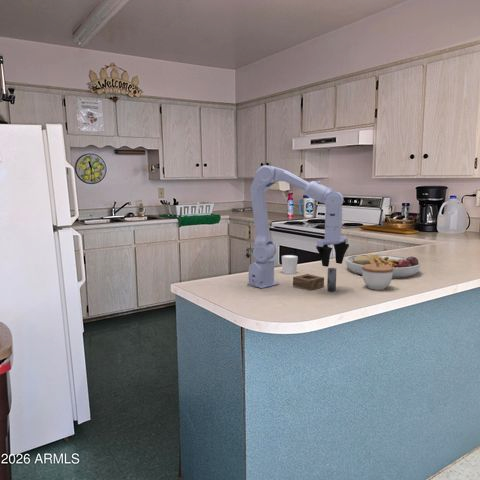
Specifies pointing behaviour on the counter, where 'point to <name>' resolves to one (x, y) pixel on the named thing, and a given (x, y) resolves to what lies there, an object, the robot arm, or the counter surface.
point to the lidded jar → (377, 275)
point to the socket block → (308, 282)
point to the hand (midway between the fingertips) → (332, 264)
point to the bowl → (399, 264)
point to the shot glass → (289, 264)
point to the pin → (331, 280)
